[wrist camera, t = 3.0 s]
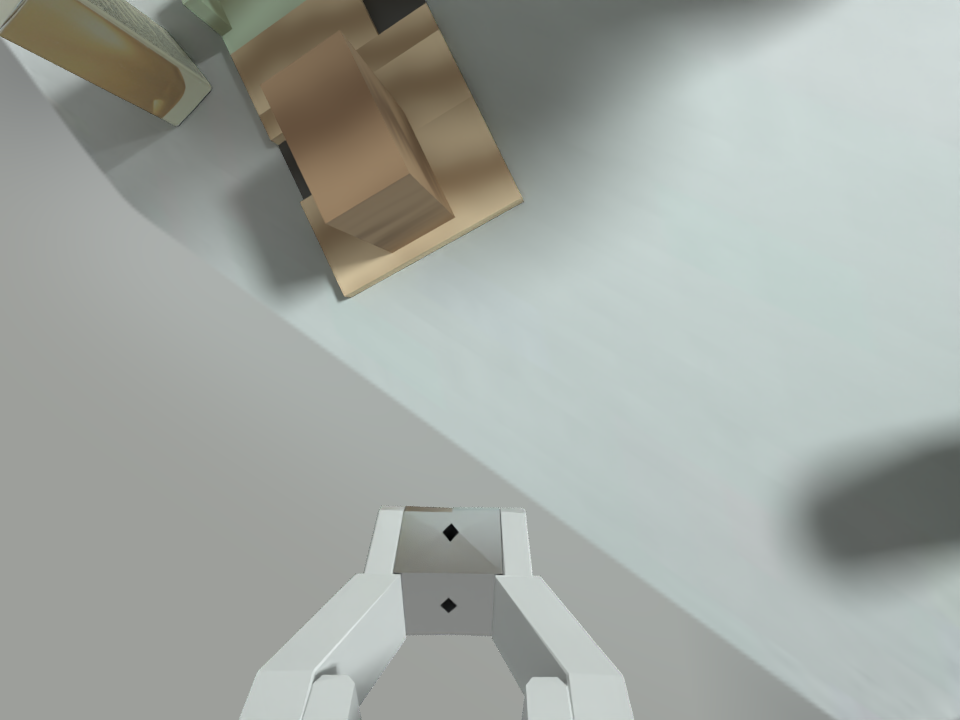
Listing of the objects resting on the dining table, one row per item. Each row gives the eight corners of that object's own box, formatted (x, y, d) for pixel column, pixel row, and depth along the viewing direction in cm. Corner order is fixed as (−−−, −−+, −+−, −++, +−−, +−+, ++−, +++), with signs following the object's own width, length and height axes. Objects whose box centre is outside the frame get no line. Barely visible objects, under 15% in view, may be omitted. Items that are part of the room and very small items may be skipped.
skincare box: (132, 71, 38) (-74, -51, 26) (168, 29, 37) (-28, -117, 25) (179, 132, 37) (-9, 36, 25) (216, 90, 36) (40, -29, 25)
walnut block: (455, 217, 32) (409, 173, 24) (392, 253, 33) (325, 223, 25) (404, 112, 33) (339, 29, 24) (343, 150, 34) (259, 85, 25)
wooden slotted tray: (523, 201, 32) (515, 180, 28) (350, 297, 35) (318, 292, 31) (359, -133, 33) (325, -204, 29) (203, -14, 36) (151, -62, 32)
